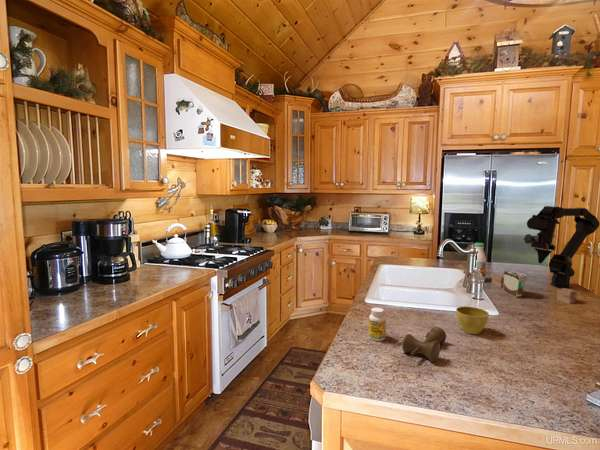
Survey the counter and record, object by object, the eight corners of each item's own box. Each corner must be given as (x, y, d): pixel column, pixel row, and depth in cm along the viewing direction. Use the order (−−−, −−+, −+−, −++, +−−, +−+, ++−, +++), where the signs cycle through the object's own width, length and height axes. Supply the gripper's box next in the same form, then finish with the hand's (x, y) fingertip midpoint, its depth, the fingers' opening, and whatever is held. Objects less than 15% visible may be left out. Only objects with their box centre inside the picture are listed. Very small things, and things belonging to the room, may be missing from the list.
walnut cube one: (498, 283, 180) (499, 273, 179) (507, 286, 175) (508, 276, 174) (491, 284, 178) (492, 274, 177) (500, 287, 173) (501, 277, 172)
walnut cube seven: (563, 298, 156) (564, 287, 155) (575, 302, 152) (577, 290, 151) (556, 300, 154) (557, 289, 153) (569, 303, 149) (570, 292, 149)
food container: (532, 299, 155) (533, 277, 154) (518, 299, 155) (520, 277, 154) (514, 290, 168) (515, 270, 166) (501, 290, 167) (503, 270, 166)
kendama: (454, 347, 109) (427, 370, 95) (424, 339, 116) (395, 359, 101) (454, 329, 109) (428, 349, 94) (424, 321, 116) (395, 339, 101)
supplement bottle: (385, 335, 116) (386, 307, 115) (384, 342, 111) (385, 313, 110) (369, 333, 118) (370, 305, 117) (367, 340, 113) (368, 311, 112)
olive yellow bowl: (461, 323, 128) (462, 304, 127) (491, 331, 120) (493, 311, 120) (450, 331, 120) (451, 311, 120) (481, 340, 113) (483, 319, 113)
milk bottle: (469, 281, 183) (471, 243, 181) (468, 277, 190) (470, 241, 188) (485, 283, 180) (488, 244, 178) (484, 279, 187) (486, 242, 185)
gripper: (533, 230, 181) (526, 259, 182) (522, 227, 169) (515, 259, 170) (559, 234, 173) (552, 265, 174) (549, 231, 160) (542, 264, 161)
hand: (539, 263), depth 170 cm, fingers closed
